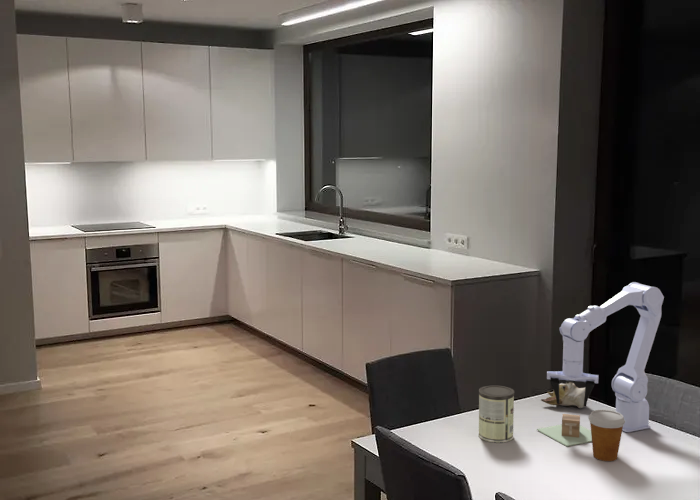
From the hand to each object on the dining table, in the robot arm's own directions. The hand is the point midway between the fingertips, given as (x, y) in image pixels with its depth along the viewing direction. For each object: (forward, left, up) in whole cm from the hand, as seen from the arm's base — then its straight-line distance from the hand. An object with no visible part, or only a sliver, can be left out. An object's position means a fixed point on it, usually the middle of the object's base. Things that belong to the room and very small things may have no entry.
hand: (571, 404), depth 225 cm
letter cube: (0, 0, -9) cm, 9 cm away
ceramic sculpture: (-16, -22, -10) cm, 28 cm away
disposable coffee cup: (+2, +17, -10) cm, 20 cm away
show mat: (0, 0, -9) cm, 9 cm away
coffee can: (+21, -8, -10) cm, 24 cm away
